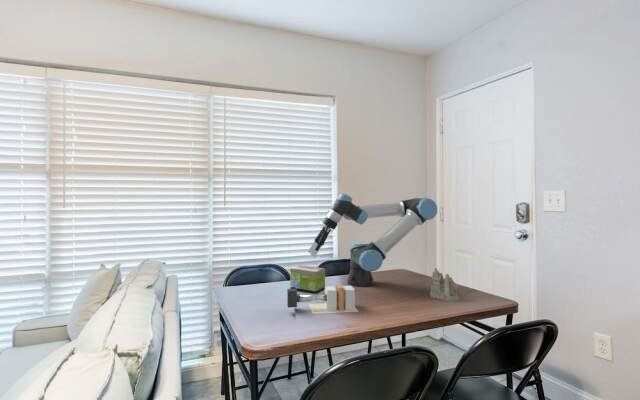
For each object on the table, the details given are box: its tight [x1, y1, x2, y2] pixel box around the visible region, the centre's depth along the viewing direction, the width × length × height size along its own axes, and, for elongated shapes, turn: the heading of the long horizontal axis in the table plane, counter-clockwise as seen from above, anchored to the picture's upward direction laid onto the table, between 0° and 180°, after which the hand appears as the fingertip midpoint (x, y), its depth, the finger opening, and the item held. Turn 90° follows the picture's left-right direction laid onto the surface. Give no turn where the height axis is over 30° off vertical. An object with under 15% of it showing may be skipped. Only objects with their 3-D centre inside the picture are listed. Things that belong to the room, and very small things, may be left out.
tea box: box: [289, 265, 326, 295], centre depth 178 cm, size 15×10×15 cm, turn 62°
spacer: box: [335, 283, 344, 310], centre depth 157 cm, size 2×8×10 cm, turn 7°
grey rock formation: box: [429, 267, 461, 302], centre depth 179 cm, size 16×16×15 cm
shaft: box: [286, 288, 327, 308], centre depth 155 cm, size 18×4×7 cm, turn 97°
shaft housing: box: [308, 285, 359, 315], centre depth 156 cm, size 20×14×10 cm
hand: (311, 254), depth 187 cm, fingers open, 13 cm apart
